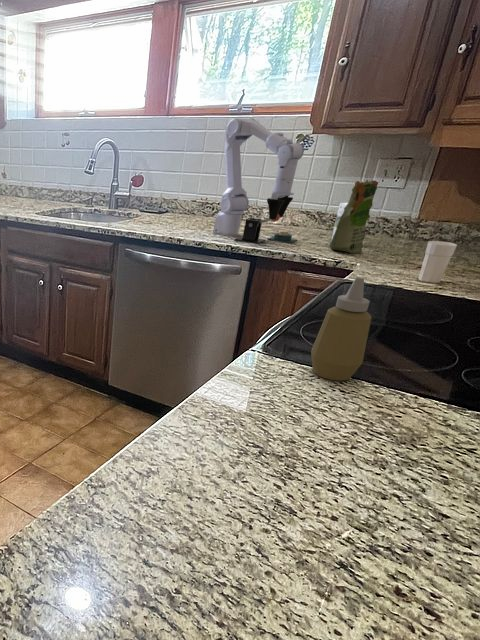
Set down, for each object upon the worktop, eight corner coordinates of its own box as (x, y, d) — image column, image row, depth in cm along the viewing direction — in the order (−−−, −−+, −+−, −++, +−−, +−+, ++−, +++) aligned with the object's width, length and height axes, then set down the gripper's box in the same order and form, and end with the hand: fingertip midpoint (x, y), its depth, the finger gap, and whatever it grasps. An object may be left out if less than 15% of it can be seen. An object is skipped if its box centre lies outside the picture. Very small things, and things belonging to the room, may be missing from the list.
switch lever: (281, 219, 194) (280, 211, 194) (279, 220, 192) (277, 212, 192) (252, 228, 202) (250, 221, 202) (249, 229, 200) (247, 221, 200)
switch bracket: (265, 242, 203) (270, 219, 199) (257, 245, 198) (262, 222, 194) (241, 239, 209) (246, 216, 205) (233, 242, 203) (238, 219, 200)
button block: (266, 241, 205) (268, 233, 204) (272, 239, 209) (273, 231, 208) (291, 245, 200) (293, 237, 198) (296, 242, 204) (298, 235, 202)
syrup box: (352, 242, 205) (363, 204, 199) (337, 242, 205) (348, 204, 199) (344, 239, 210) (354, 202, 204) (329, 239, 210) (339, 202, 204)
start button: (277, 235, 203) (278, 230, 203) (280, 234, 205) (281, 229, 205) (285, 236, 201) (286, 231, 201) (288, 235, 203) (289, 230, 203)
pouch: (357, 249, 194) (378, 178, 184) (368, 256, 184) (391, 181, 174) (323, 246, 197) (342, 177, 187) (333, 253, 187) (353, 180, 176)
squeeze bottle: (338, 365, 99) (367, 271, 91) (367, 384, 91) (401, 284, 84) (296, 365, 99) (322, 271, 91) (322, 384, 91) (352, 284, 84)
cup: (416, 276, 159) (428, 240, 155) (443, 280, 156) (457, 243, 151) (414, 280, 155) (427, 243, 150) (442, 284, 151) (456, 246, 146)
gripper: (289, 181, 181) (280, 221, 187) (302, 179, 191) (293, 217, 197) (268, 180, 186) (260, 219, 191) (282, 177, 196) (273, 214, 201)
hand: (275, 218), depth 194 cm, fingers open, 7 cm apart
